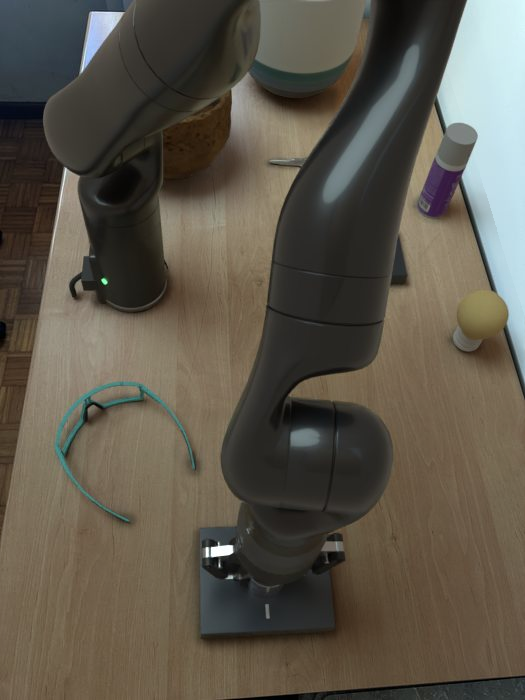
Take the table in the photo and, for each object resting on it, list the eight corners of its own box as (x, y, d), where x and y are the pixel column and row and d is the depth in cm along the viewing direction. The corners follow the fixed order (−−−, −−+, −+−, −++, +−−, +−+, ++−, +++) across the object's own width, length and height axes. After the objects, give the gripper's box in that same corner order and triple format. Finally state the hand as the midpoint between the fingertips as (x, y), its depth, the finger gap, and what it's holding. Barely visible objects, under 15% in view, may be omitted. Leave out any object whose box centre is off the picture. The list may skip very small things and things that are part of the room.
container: (444, 222, 104) (478, 147, 91) (415, 216, 104) (444, 141, 91) (446, 200, 106) (479, 125, 94) (417, 194, 107) (446, 119, 94)
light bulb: (459, 368, 90) (486, 328, 82) (433, 332, 93) (455, 290, 84) (496, 351, 92) (526, 311, 83) (469, 316, 95) (495, 274, 86)
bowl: (130, 111, 112) (120, 29, 99) (240, 131, 111) (244, 51, 99) (96, 191, 102) (80, 111, 89) (216, 213, 102) (217, 136, 89)
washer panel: (200, 638, 70) (200, 634, 68) (199, 535, 76) (199, 527, 73) (330, 631, 72) (335, 627, 69) (320, 530, 77) (324, 522, 75)
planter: (350, 124, 114) (377, 5, 96) (232, 117, 113) (237, -6, 95) (344, 50, 125) (367, -70, 106) (236, 43, 124) (240, -80, 105)
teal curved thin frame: (133, 376, 86) (131, 359, 81) (207, 462, 82) (210, 449, 78) (39, 442, 80) (32, 428, 76) (114, 537, 77) (111, 528, 72)
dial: (246, 598, 70) (248, 588, 65) (244, 556, 72) (246, 543, 68) (287, 596, 70) (293, 585, 66) (284, 554, 73) (289, 541, 68)
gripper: (358, 482, 58) (328, 535, 73) (195, 488, 57) (197, 541, 72) (370, 569, 55) (336, 607, 69) (196, 578, 53) (198, 615, 68)
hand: (265, 573), depth 70 cm, fingers closed on dial, 4 cm apart
